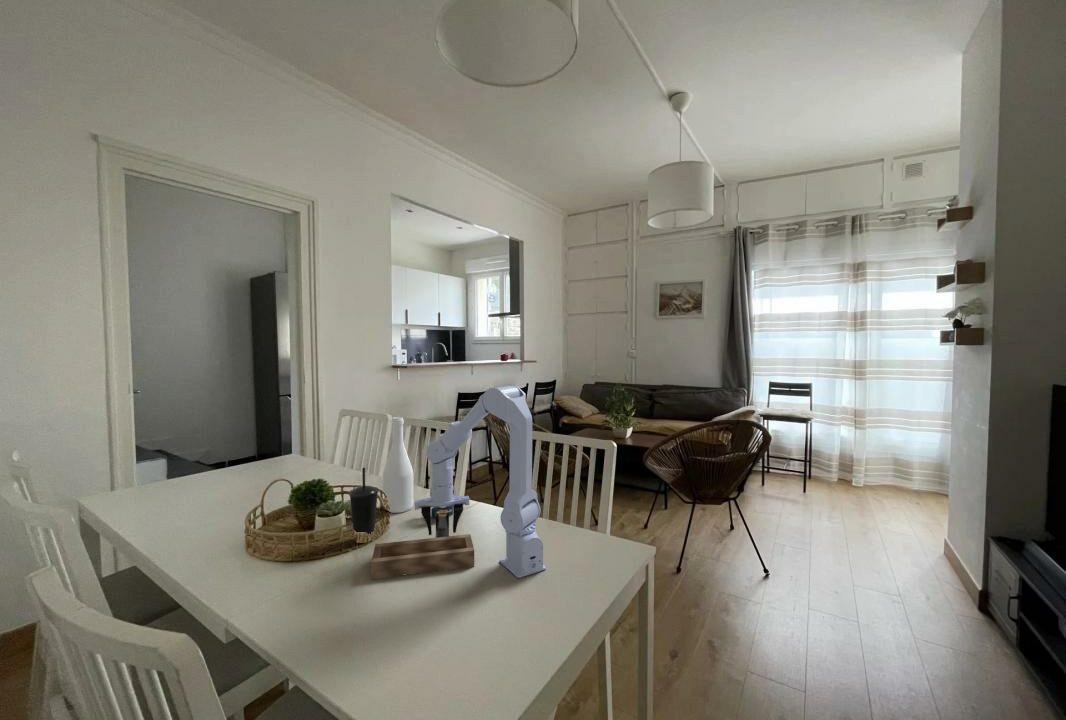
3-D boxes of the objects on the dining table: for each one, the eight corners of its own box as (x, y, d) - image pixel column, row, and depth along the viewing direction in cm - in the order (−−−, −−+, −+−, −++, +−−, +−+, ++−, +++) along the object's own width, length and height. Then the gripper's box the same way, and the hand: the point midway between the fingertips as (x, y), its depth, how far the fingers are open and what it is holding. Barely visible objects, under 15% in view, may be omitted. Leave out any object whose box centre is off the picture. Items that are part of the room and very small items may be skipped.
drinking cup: (383, 534, 121) (383, 464, 120) (371, 547, 114) (370, 472, 113) (358, 533, 122) (357, 463, 121) (343, 545, 114) (342, 471, 114)
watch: (448, 521, 130) (448, 486, 129) (426, 517, 133) (426, 482, 132) (458, 515, 135) (458, 480, 135) (436, 511, 138) (436, 477, 138)
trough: (470, 548, 113) (470, 534, 113) (474, 566, 104) (474, 550, 104) (375, 559, 107) (375, 544, 107) (371, 579, 98) (371, 562, 98)
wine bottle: (376, 511, 137) (376, 419, 136) (394, 501, 146) (393, 414, 145) (402, 515, 134) (401, 420, 133) (418, 504, 144) (418, 416, 142)
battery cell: (451, 542, 117) (450, 513, 116) (438, 545, 115) (438, 516, 114) (446, 537, 120) (446, 508, 119) (433, 540, 118) (433, 511, 117)
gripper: (467, 477, 122) (467, 523, 123) (414, 480, 119) (415, 528, 119) (470, 484, 115) (470, 534, 116) (414, 489, 112) (414, 540, 112)
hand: (442, 532), depth 117 cm, fingers open, 6 cm apart
